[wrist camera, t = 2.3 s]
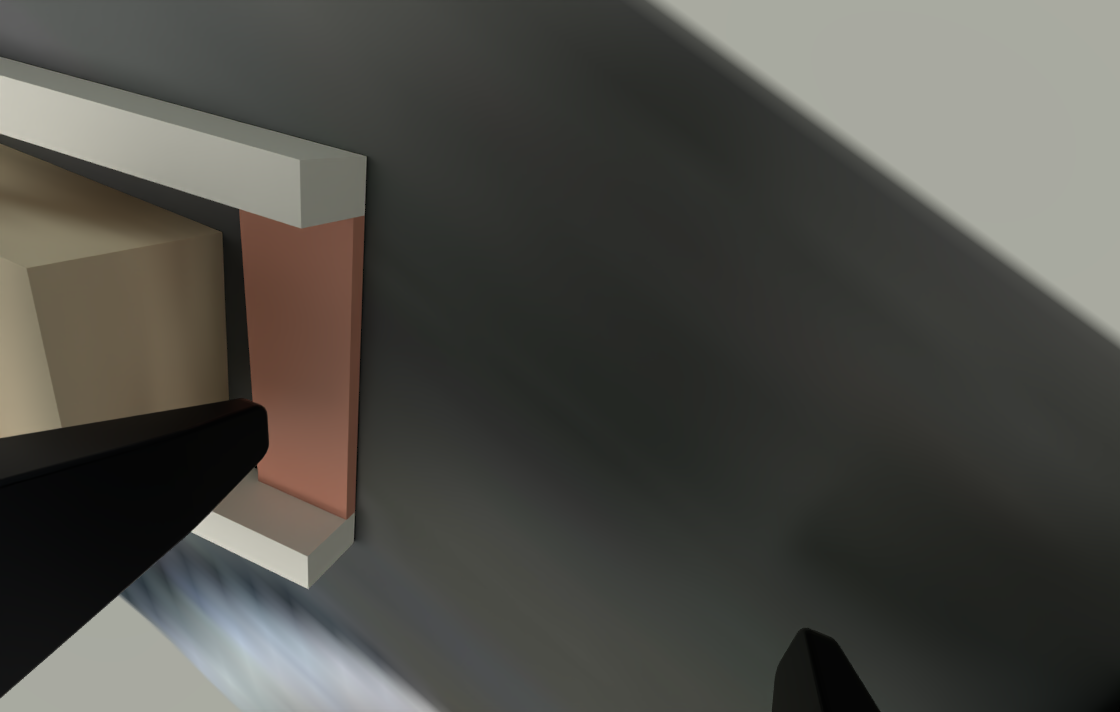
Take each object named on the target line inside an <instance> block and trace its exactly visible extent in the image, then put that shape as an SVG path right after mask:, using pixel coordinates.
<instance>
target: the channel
mask: <svg viewBox="0 0 1120 712" xmlns="http://www.w3.org/2000/svg"><path fill="white" fill-rule="evenodd" d="M0 134H3V135H6V136H10V137H13V138H16V139H19V140H22V141H25V142H29V143H32V144H35V145H38V146H41V147H44V148H48V149H51V150H54V151H57V152H60V153H63V154H67V155H70V156H73V157H76V158H79V159H82V160H86V161H89V162H92V163H95V164H98V165H101V166H105V167H108V168H111V169H114V170H117V171H121V172H124V173H127V174H130V175H133V176H136V177H140V178H143V179H146V180H149V181H152V182H155V183H159V184H162V185H165V186H168V187H171V188H174V189H178V190H181V191H184V192H187V193H190V194H193V195H197V196H200V197H203V198H206V199H209V200H212V201H216V202H219V203H222V204H225V205H228V206H231V207H235V208H238V209H239V214H240V228H241V243H242V257H243V271H244V285H245V299H246V313H247V327H248V341H249V355H250V369H251V383H252V397H253V402H255V403H258V404H260V405H262V406H264V407H265V409H266V410H267V414H268V430H269V448H268V451H267V453H266V455H265V456H264V458H263V459H262V460H261V461H260V462H259V463H258V464H257V468H258V469H256V468H253V469H252V470H251V471H250V472H249V473H248V474H247V475H246V477H245V478H244V479H243V480H242V481H241V482H240V483H239V484H238V485H237V486H236V487H235V488H234V489H233V490H232V491H231V492H230V493H229V494H228V495H227V496H226V497H225V498H224V499H223V500H222V501H221V502H220V503H219V505H218V506H217V507H216V508H215V509H214V510H213V511H212V512H211V513H210V514H209V515H208V516H207V517H206V518H205V519H204V520H203V521H202V522H201V523H200V524H199V525H198V526H197V527H196V528H195V529H194V530H192V531H191V532H192V533H194V534H196V535H198V536H201V537H203V538H205V539H207V540H209V541H211V542H213V543H215V544H217V545H219V546H221V547H223V548H225V549H227V550H229V551H231V552H233V553H235V554H237V555H239V556H242V557H244V558H246V559H248V560H250V561H252V562H254V563H256V564H258V565H260V566H262V567H264V568H266V569H268V570H270V571H272V572H274V573H276V574H278V575H280V576H282V577H285V578H287V579H289V580H291V581H293V582H295V583H297V584H299V585H301V586H303V587H305V588H307V589H309V588H310V587H311V586H312V585H313V584H314V583H315V582H316V581H317V580H318V579H319V578H320V577H321V576H322V575H323V574H324V573H325V572H326V571H327V570H328V569H329V568H330V567H331V566H332V565H333V563H334V562H335V561H336V560H337V559H338V558H339V557H340V556H341V555H342V554H343V553H344V552H345V551H346V550H347V549H348V548H349V547H350V546H351V545H352V544H353V543H354V523H355V493H356V463H357V433H358V403H359V373H360V343H361V313H362V283H363V253H364V223H365V192H366V162H367V156H363V155H360V154H356V153H352V152H349V151H345V150H341V149H338V148H334V147H330V146H327V145H323V144H319V143H316V142H312V141H308V140H305V139H301V138H297V137H294V136H290V135H286V134H283V133H279V132H275V131H271V130H268V129H264V128H260V127H257V126H253V125H249V124H246V123H242V122H238V121H235V120H231V119H227V118H224V117H220V116H216V115H213V114H209V113H205V112H202V111H198V110H194V109H191V108H187V107H183V106H180V105H176V104H172V103H169V102H165V101H161V100H158V99H154V98H150V97H147V96H143V95H139V94H136V93H132V92H128V91H124V90H121V89H117V88H113V87H110V86H106V85H102V84H99V83H95V82H91V81H88V80H84V79H80V78H77V77H73V76H69V75H66V74H62V73H58V72H55V71H51V70H47V69H44V68H40V67H36V66H33V65H29V64H25V63H22V62H18V61H14V60H11V59H7V58H3V57H0Z"/></svg>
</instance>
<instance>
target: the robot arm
mask: <svg viewBox="0 0 1120 712" xmlns="http://www.w3.org/2000/svg"><path fill="white" fill-rule="evenodd" d="M268 448H269V430H268V414H267V410H266V409H265V407H264V406H262V405H260V404H258V403H255V402H253V401H250V400H248V399H244V398H239V399H233V400H227V401H221V402H215V403H209V404H203V405H197V406H190V407H184V408H178V409H172V410H166V411H160V412H154V413H148V414H142V415H136V416H130V417H124V418H118V419H112V420H106V421H100V422H94V423H88V424H82V425H76V426H70V427H64V428H58V429H52V430H46V431H40V432H33V433H27V434H21V435H15V436H9V437H3V438H0V698H1V697H3V696H4V695H5V694H6V693H7V692H8V691H9V690H11V689H12V688H13V687H14V686H15V685H16V684H17V683H19V682H20V681H21V680H22V679H23V678H24V677H25V676H27V675H28V674H29V673H30V672H31V671H32V670H33V669H35V668H36V667H37V666H38V665H39V664H40V663H42V662H43V661H44V660H45V659H46V658H47V657H48V656H50V655H51V654H52V653H53V652H54V651H55V650H56V649H57V648H59V647H60V646H61V645H62V644H63V643H64V642H65V641H67V640H68V639H69V638H70V637H71V636H72V635H74V634H75V633H76V632H77V631H78V630H79V629H80V628H82V627H83V626H84V625H85V624H86V623H87V622H88V621H90V620H91V619H92V618H93V617H94V616H95V615H97V613H99V612H100V611H101V610H102V609H103V608H105V607H106V606H107V605H108V604H109V603H110V602H111V601H113V600H114V599H115V598H116V597H117V596H118V595H119V594H121V593H122V592H123V591H124V590H125V589H126V588H127V587H129V586H130V585H131V584H132V583H133V582H134V581H135V580H137V579H138V578H139V577H140V576H141V575H142V574H144V573H145V572H146V571H147V570H148V569H149V568H150V567H152V566H153V565H154V564H155V563H156V562H157V561H158V560H160V559H161V558H162V557H163V556H164V555H165V554H166V553H168V552H169V551H170V550H171V549H172V548H173V547H174V546H176V545H177V544H178V543H179V542H180V541H181V540H182V539H184V538H185V537H186V536H187V535H188V534H189V533H190V532H191V531H192V530H194V529H195V528H196V527H197V526H198V525H199V524H200V523H201V522H202V521H203V520H204V519H205V518H206V517H207V516H208V515H209V514H210V513H211V512H212V511H213V510H214V509H215V508H216V507H217V506H218V505H219V503H220V502H221V501H222V500H223V499H224V498H225V497H226V496H227V495H228V494H229V493H230V492H231V491H232V490H233V489H234V488H235V487H236V486H237V485H238V484H239V483H240V482H241V481H242V480H243V479H244V478H245V477H246V475H247V474H248V473H249V472H250V471H251V470H252V469H253V468H254V467H255V466H256V465H257V464H258V463H259V462H260V461H261V460H262V459H263V458H264V456H265V455H266V453H267V451H268ZM772 712H880V710H879V708H878V707H877V705H876V704H875V702H874V700H873V699H872V697H871V696H870V694H869V692H868V691H867V689H866V688H865V686H864V684H863V683H862V681H861V680H860V678H859V676H858V675H857V673H856V671H855V670H854V668H853V667H852V665H851V663H850V662H849V660H848V659H847V657H846V655H845V654H844V652H843V651H842V649H841V647H840V646H839V644H838V643H837V642H836V641H835V640H834V639H833V638H831V637H829V636H827V635H824V634H822V633H819V632H817V631H815V630H812V629H810V628H802V629H801V630H799V631H798V633H797V634H796V636H795V638H794V639H793V641H792V643H791V644H790V646H789V648H788V649H787V651H786V652H785V654H784V656H783V657H782V659H781V661H780V663H779V665H778V667H777V671H776V675H775V681H774V693H773V704H772ZM1115 712H1120V708H1119V709H1117V710H1116V711H1115Z"/></svg>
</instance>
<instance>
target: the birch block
mask: <svg viewBox="0 0 1120 712" xmlns="http://www.w3.org/2000/svg"><path fill="white" fill-rule="evenodd" d="M227 400H229V388H228V363H227V338H226V313H225V288H224V263H223V238H222V232H220V231H218V230H215V229H213V228H210V227H208V226H205V225H203V224H200V223H198V222H195V221H193V220H190V219H188V218H185V217H183V216H180V215H178V214H175V213H173V212H170V211H168V210H165V209H163V208H160V207H158V206H155V205H153V204H150V203H148V202H145V201H143V200H140V199H138V198H135V197H133V196H130V195H128V194H125V193H123V192H120V191H118V190H115V189H113V188H110V187H108V186H105V185H103V184H100V183H98V182H95V181H93V180H90V179H88V178H85V177H83V176H80V175H78V174H75V173H73V172H70V171H68V170H65V169H63V168H60V167H58V166H55V165H53V164H50V163H48V162H45V161H43V160H40V159H38V158H35V157H33V156H30V155H28V154H25V153H23V152H20V151H18V150H15V149H13V148H10V147H8V146H5V145H3V144H0V438H3V437H9V436H15V435H21V434H27V433H33V432H40V431H46V430H52V429H58V428H64V427H70V426H76V425H82V424H88V423H94V422H100V421H106V420H112V419H118V418H124V417H130V416H136V415H142V414H148V413H154V412H160V411H166V410H172V409H178V408H184V407H190V406H197V405H203V404H209V403H215V402H221V401H227Z"/></svg>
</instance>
